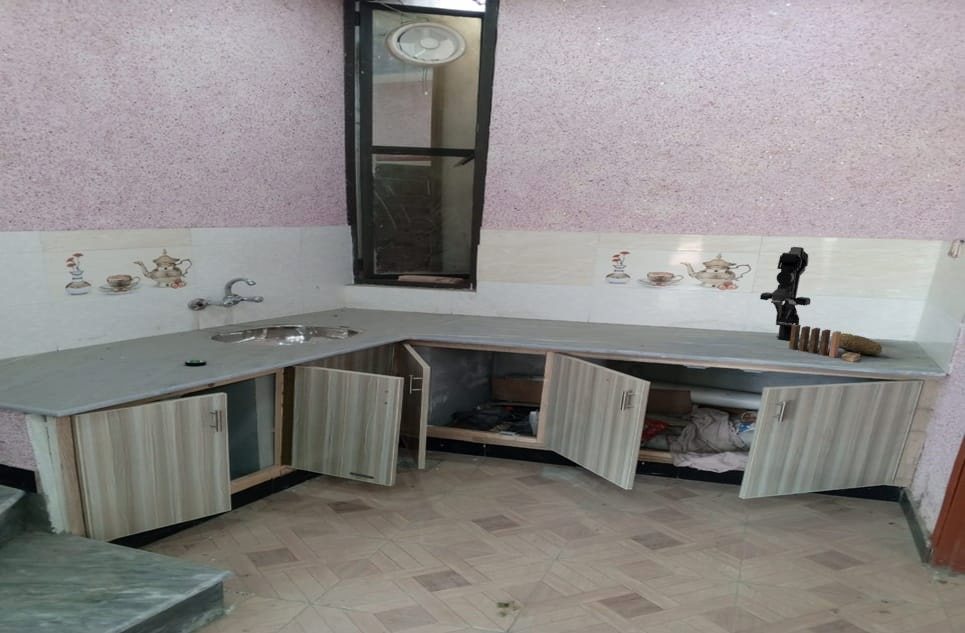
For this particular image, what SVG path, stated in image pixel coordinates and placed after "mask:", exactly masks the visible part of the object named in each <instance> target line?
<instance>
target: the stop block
mask: <svg viewBox="0 0 965 633" xmlns="http://www.w3.org/2000/svg"><path fill="white" fill-rule="evenodd" d="M860 357H861V353H856V352H853V351H849V352H846V353H844V354H842V355H841V361H845V362H852V363H854V362H856V361H858V360H860V359H861V358H860Z"/></svg>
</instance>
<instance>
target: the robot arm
mask: <svg viewBox="0 0 965 633" xmlns="http://www.w3.org/2000/svg"><path fill="white" fill-rule="evenodd" d="M808 264H809V254H808V253H807V252H806V251H805V249H804V247H801V246H798V247H797V246H792V247H790V249H789V251H788V252H782V254H781V255H779V260H778V262H777V268H776V269H777V270H780V272H778V273H777V275H776V281H777V283H778V285H777V288H776V289H775V290H774V291H773V292H768V291H767V292H762V293H760V297H759V298H760V299H759V300H762V301H768V300H771V301H770V303H771V304H773V306H774V308H775V309H776V317H775V326H779V328H778V335H776V338H777V340H781V341H782V340H783V341H790V337H791V330H792V326H793V325H800V317H799V314H798V310H797V308H796V306H808V305H809V306H810V305H811V298H810V297H805V296H798V297H797V295H798V291H799V290H798V289H799V283H800V278H801V275H803V273H805V271H806V267H808ZM783 302H784V303H783Z"/></svg>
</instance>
